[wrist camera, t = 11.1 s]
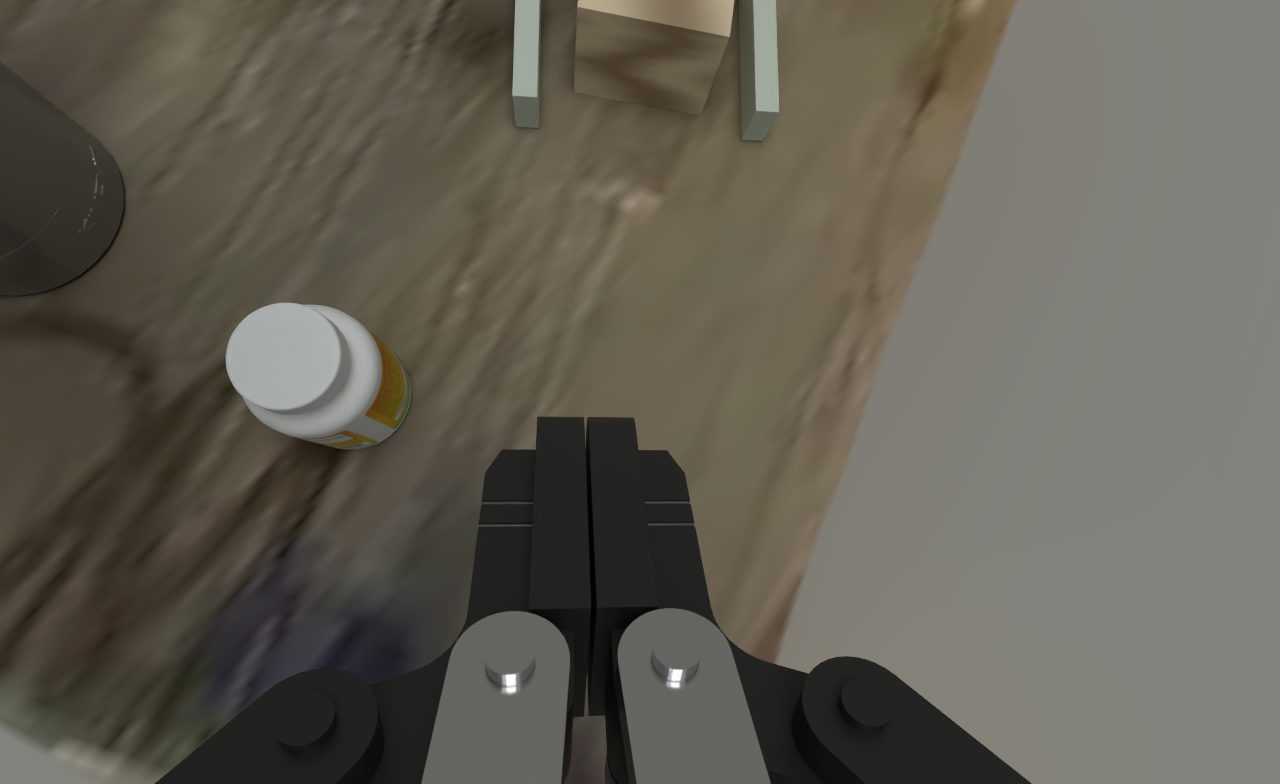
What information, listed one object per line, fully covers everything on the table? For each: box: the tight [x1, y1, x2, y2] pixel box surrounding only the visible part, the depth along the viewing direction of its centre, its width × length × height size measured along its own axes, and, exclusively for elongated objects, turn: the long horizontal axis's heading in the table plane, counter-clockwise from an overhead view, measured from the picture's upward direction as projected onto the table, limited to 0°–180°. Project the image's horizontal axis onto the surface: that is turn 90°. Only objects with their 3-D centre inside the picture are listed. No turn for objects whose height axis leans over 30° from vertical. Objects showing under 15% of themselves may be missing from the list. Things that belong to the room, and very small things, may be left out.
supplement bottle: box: [226, 303, 411, 449], centre depth 31 cm, size 5×5×10 cm
